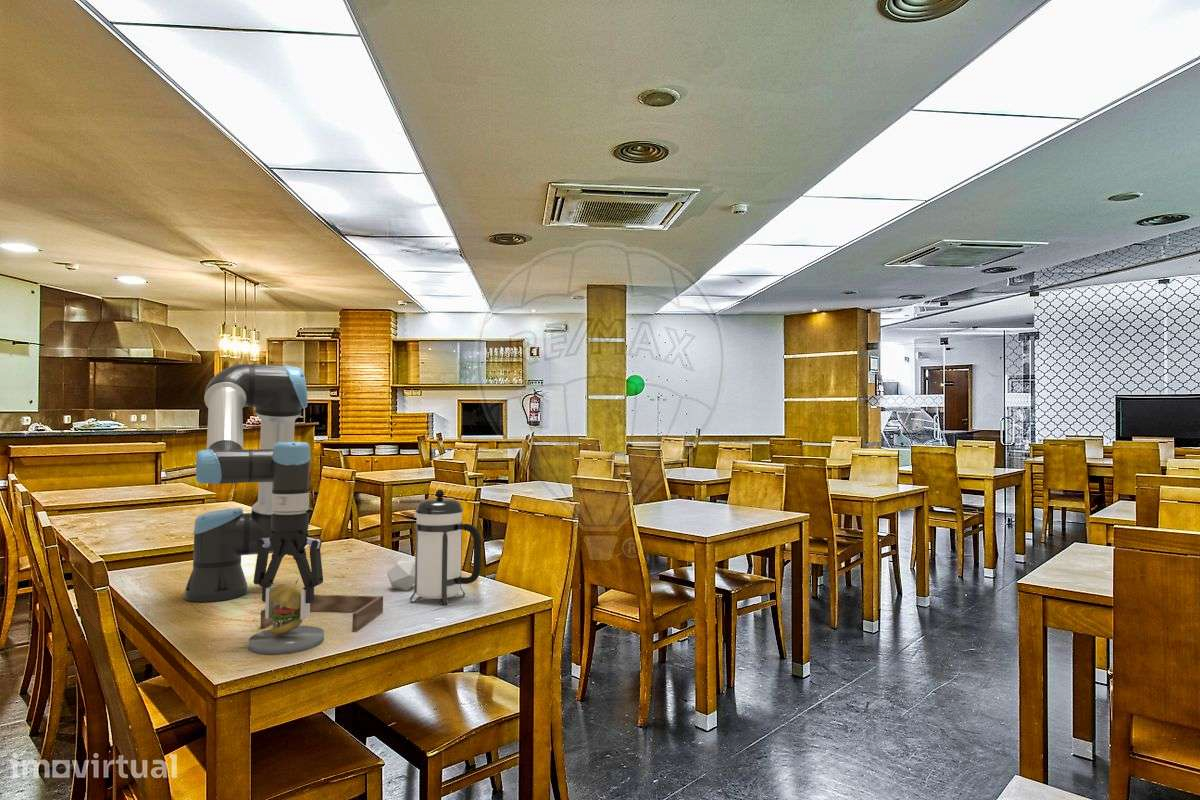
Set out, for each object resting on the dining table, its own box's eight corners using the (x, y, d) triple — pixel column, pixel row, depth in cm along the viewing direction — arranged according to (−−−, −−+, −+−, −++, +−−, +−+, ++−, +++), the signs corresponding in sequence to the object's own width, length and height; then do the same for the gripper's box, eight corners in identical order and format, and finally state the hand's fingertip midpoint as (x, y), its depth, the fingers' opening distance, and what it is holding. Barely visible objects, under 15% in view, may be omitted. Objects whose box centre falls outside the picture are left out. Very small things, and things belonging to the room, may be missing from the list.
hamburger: (276, 628, 152) (278, 574, 153) (310, 628, 153) (311, 574, 153) (262, 639, 145) (264, 582, 145) (297, 639, 145) (299, 582, 146)
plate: (233, 653, 142) (233, 645, 142) (272, 631, 157) (272, 624, 157) (303, 655, 141) (303, 648, 141) (335, 633, 156) (335, 626, 156)
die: (425, 589, 200) (417, 559, 205) (415, 580, 193) (408, 550, 198) (398, 600, 199) (391, 570, 204) (387, 591, 192) (381, 560, 197)
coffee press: (414, 610, 175) (416, 493, 176) (406, 595, 190) (408, 487, 191) (480, 603, 182) (482, 491, 183) (467, 590, 197) (469, 486, 198)
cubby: (260, 628, 159) (260, 610, 159) (295, 609, 175) (295, 593, 175) (356, 631, 158) (356, 613, 158) (382, 612, 173) (383, 596, 174)
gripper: (236, 513, 147) (233, 621, 146) (326, 515, 145) (324, 623, 145) (255, 509, 154) (253, 611, 153) (342, 510, 153) (339, 613, 152)
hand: (287, 617), depth 149 cm, fingers closed on hamburger, 7 cm apart
